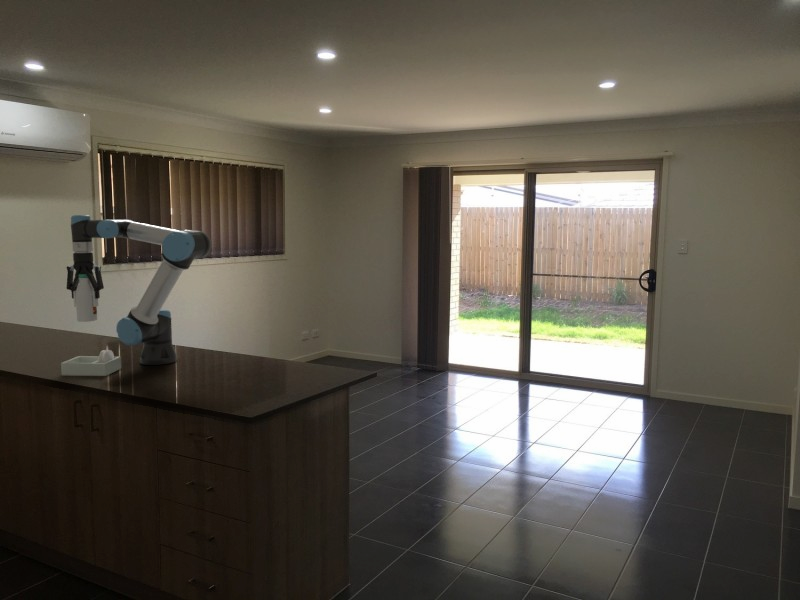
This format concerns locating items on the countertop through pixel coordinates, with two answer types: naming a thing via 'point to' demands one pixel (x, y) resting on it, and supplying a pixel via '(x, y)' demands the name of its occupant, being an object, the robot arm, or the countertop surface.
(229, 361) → the countertop surface
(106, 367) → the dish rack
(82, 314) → the milk bottle
